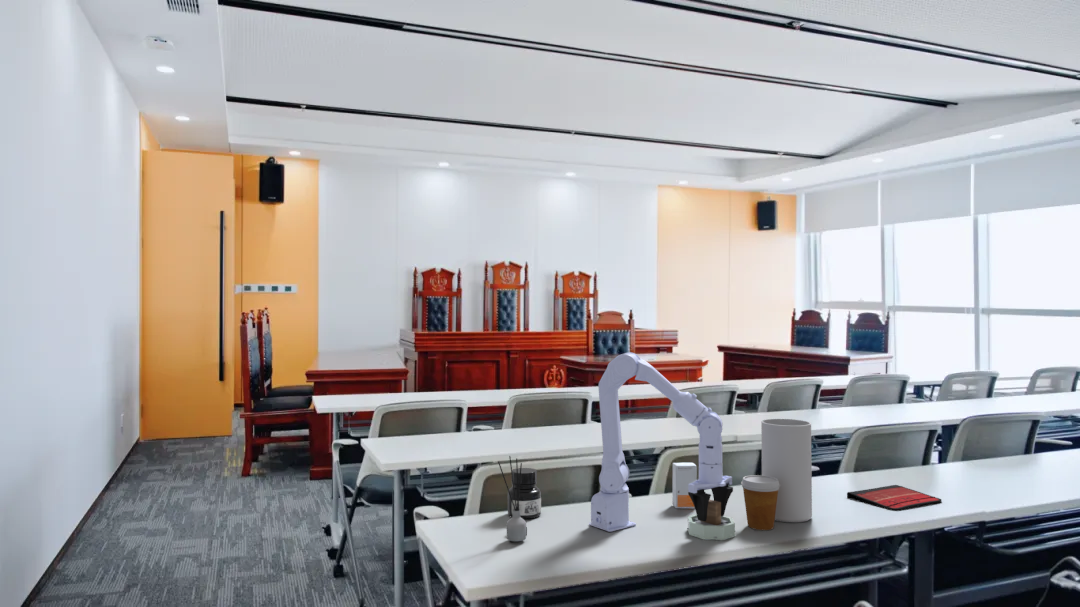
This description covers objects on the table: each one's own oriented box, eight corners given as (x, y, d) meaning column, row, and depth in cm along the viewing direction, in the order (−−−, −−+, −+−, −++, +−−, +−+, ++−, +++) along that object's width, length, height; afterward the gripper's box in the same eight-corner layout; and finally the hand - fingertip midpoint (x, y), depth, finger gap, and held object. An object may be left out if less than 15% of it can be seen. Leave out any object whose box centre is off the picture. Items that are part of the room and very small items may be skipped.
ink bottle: (512, 521, 184) (512, 475, 184) (501, 513, 192) (501, 468, 192) (547, 517, 188) (547, 472, 188) (535, 509, 196) (534, 465, 196)
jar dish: (714, 543, 166) (714, 529, 166) (678, 531, 175) (678, 518, 175) (743, 534, 173) (743, 520, 173) (707, 523, 182) (707, 511, 182)
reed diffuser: (532, 545, 165) (532, 460, 165) (504, 549, 162) (504, 462, 163) (518, 533, 174) (518, 452, 175) (491, 536, 172) (491, 454, 172)
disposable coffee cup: (744, 531, 175) (743, 482, 175) (738, 520, 184) (738, 474, 185) (784, 533, 174) (783, 484, 174) (776, 521, 183) (776, 475, 183)
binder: (846, 491, 206) (895, 483, 216) (846, 499, 206) (895, 491, 216) (895, 507, 192) (945, 498, 201) (895, 515, 192) (945, 506, 201)
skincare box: (675, 509, 195) (675, 465, 195) (672, 504, 199) (672, 462, 200) (697, 508, 195) (697, 465, 195) (693, 504, 200) (693, 462, 200)
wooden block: (716, 532, 172) (715, 503, 172) (701, 528, 175) (700, 499, 175) (721, 530, 173) (720, 502, 173) (706, 526, 176) (705, 498, 176)
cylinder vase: (822, 519, 185) (821, 423, 185) (787, 526, 179) (786, 427, 180) (786, 507, 196) (785, 417, 196) (752, 513, 190) (751, 420, 191)
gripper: (704, 469, 167) (704, 527, 166) (742, 461, 175) (742, 516, 175) (681, 464, 172) (681, 520, 172) (719, 456, 181) (719, 509, 181)
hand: (710, 517), depth 174 cm, fingers open, 6 cm apart
